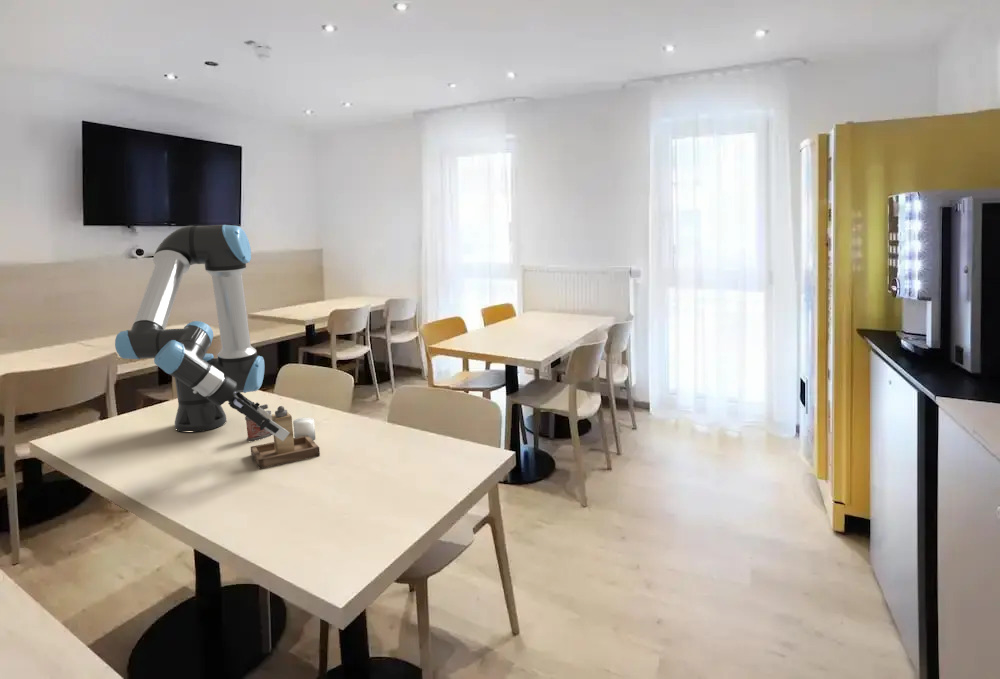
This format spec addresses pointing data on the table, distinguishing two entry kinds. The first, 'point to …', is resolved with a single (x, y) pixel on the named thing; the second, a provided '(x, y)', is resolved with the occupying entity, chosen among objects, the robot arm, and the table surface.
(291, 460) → the tray
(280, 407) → the pepper mill
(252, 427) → the lighter
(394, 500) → the table surface
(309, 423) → the white pillar candle
